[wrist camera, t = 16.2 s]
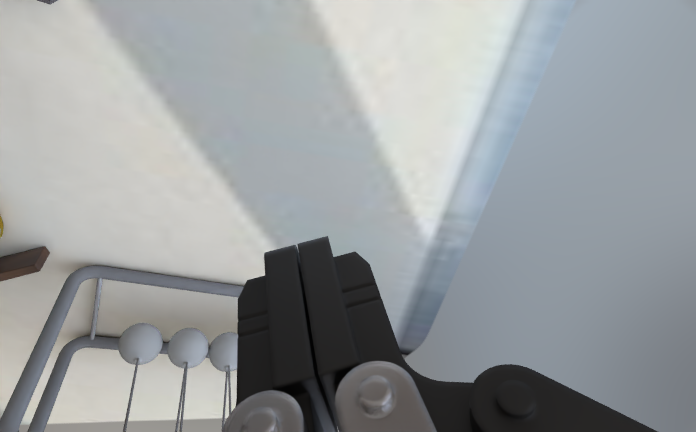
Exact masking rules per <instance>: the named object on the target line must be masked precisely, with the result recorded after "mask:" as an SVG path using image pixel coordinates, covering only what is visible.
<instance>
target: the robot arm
mask: <svg viewBox="0 0 696 432" xmlns="http://www.w3.org/2000/svg"><path fill="white" fill-rule="evenodd" d="M298 251H299V252H298ZM264 260H265V276H262V277H258V278H254V279H250V280H247V282H246V284H245V286H244V288H243V290H242V292H241V294H240V296H239V298H238V321H239V322H238V339H237V401H236V407H235V409H234V410H233V411H232V412H231V414H230V415H229V416H228V418H227V420H226V422H225V424H224V427H223V430H222V432H338V430H339V432H657V431H655V430H653V429H651V428H649V427H647V426H645V425H643V424H641V423H639V422H637V421H635V420H633V419H631V418H629V417H627V416H625V415H623V414H621V413H619V412H617V411H615V410H613V409H611V408H609V407H607V406H605V405H603V404H601V403H599V402H597V401H595V400H593V399H591V398H589V397H587V396H585V395H583V394H581V393H578V392H576V391H574V390H572V389H570V388H568V387H566V386H564V385H562V384H560V383H558V382H556V381H554V380H552V379H550V378H548V377H546V376H544V375H542V374H540V373H538V372H536V371H534V370H532V369H529V368H527V367H523V366H519V365H512V364H510V365H499V366H495V367H492V368H489V369H487V370H485V371H484V372H483V373H481V374H480V375H479V376H478V377H477V378H476V380H475V381H474V383H464V382H462V383H461V382H443V381H436V380H432V379H429V378H426V377H424V376H422V375H420V374H418V373H417V372H415V371H414V370H413V369H412V368H410V366H409V365H407V363H406V362H405V360H404V359H403V357H402V355H401V353H400V350H399V347H398V344H397V341H396V338H395V336H394V333H393V330H392V327H391V324H390V321H389V318H388V316H387V313H386V310H385V307H384V304H383V301H382V299H381V296H380V293H379V290H378V287H377V284H376V282H375V279H374V276H373V273H372V270H371V267H370V264H369V263H368V262H367V261H365V260H364V259H363V258H362V257H361V256H360V255H359V254H358V253H356V252H352V253H348V254H344V255H341V256H337V257H333V254H332V250H331V247H330V243H329V239H328V236H326V237H322V238H319V239H315V240H311V241H307V242H303V243H299V244H298V249H297V247H296V245H292V246H289V247H285V248H281V249H277V250H273V251H269V252H266V253H265V254H264ZM337 427H338V429H337Z"/></svg>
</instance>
